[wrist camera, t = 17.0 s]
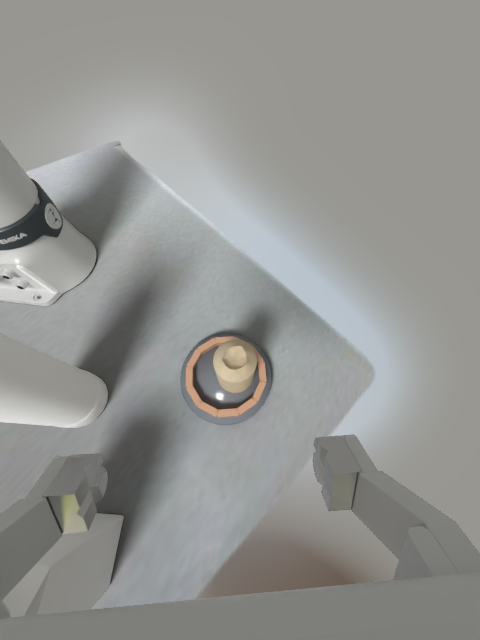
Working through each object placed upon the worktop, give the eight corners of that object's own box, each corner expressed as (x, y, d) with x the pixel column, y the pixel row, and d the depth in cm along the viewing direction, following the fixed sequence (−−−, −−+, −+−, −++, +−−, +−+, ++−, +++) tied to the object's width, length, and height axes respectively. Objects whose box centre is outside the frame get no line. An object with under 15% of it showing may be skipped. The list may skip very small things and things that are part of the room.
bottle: (93, 435, 38) (-273, 425, 11) (44, 419, 39) (-413, 374, 11) (118, 381, 41) (-115, 268, 14) (72, 368, 42) (-233, 237, 15)
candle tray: (180, 428, 39) (177, 427, 36) (182, 338, 44) (180, 333, 42) (275, 421, 39) (278, 420, 37) (265, 333, 45) (267, 328, 43)
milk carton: (109, 587, 31) (-47, 770, 14) (51, 582, 31) (-176, 757, 14) (125, 514, 34) (11, 592, 17) (71, 510, 34) (-96, 582, 17)
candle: (231, 351, 42) (229, 327, 33) (259, 371, 41) (266, 351, 32) (210, 379, 40) (202, 362, 31) (239, 401, 39) (240, 389, 30)
